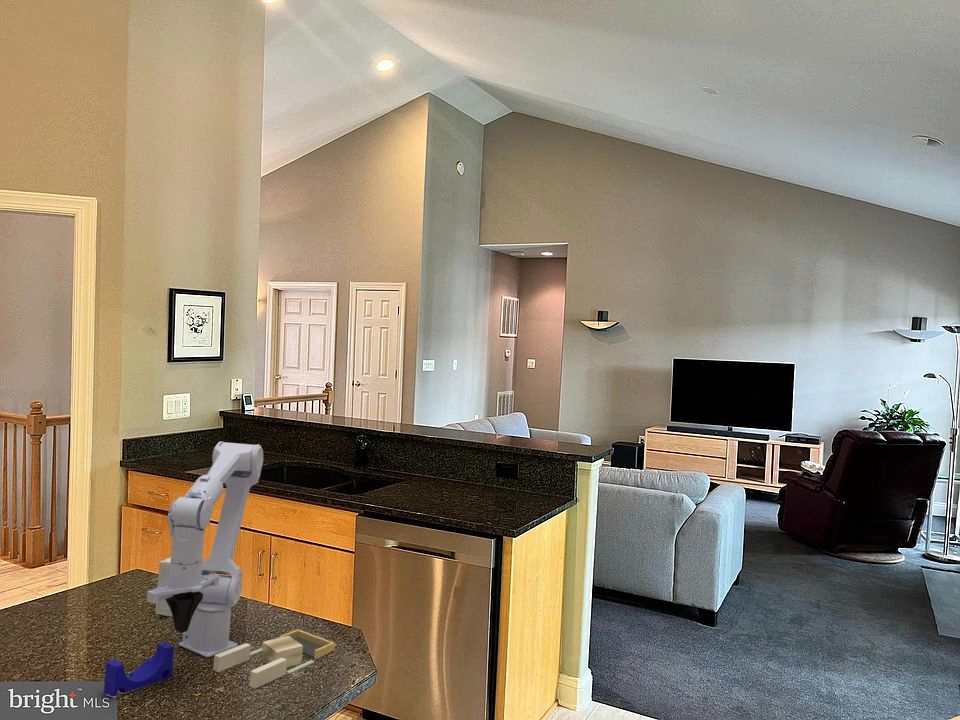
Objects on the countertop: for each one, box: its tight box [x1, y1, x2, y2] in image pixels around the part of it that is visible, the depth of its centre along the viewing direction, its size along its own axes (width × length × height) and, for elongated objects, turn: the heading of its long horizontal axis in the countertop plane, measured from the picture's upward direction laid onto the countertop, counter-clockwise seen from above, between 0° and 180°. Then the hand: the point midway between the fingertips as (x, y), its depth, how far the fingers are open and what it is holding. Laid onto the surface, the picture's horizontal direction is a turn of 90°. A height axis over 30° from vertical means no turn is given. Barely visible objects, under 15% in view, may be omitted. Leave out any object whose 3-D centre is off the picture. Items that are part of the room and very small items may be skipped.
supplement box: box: [154, 556, 204, 618], centre depth 173 cm, size 7×7×13 cm
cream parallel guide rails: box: [212, 642, 287, 689], centre depth 145 cm, size 12×8×3 cm, turn 59°
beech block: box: [261, 636, 303, 669], centre depth 151 cm, size 6×6×4 cm
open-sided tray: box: [278, 629, 336, 660], centre depth 159 cm, size 11×6×2 cm, turn 59°
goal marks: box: [250, 647, 315, 675], centre depth 152 cm, size 13×7×1 cm, turn 59°
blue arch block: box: [103, 642, 175, 696], centre depth 137 cm, size 12×4×6 cm, turn 149°
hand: (181, 630), depth 139 cm, fingers closed
